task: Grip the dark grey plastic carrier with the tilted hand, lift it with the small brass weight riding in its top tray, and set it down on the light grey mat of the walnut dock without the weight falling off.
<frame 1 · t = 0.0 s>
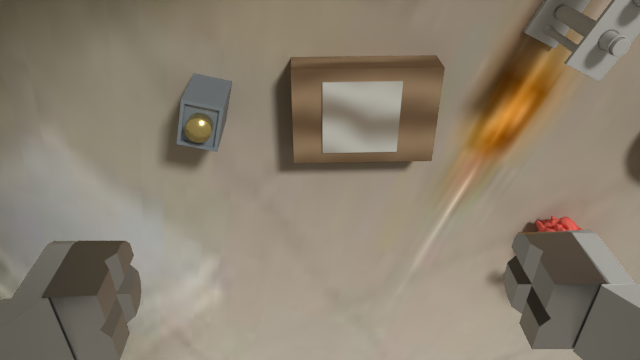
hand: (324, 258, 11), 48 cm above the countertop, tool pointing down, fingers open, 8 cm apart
brass weight: (200, 124, 54), point 7 cm above the countertop, touching carrier
dock: (361, 103, 61), on the countertop
anatomical heart: (551, 235, 74), on the countertop
carrier: (210, 98, 60), on the countertop, touching brass weight
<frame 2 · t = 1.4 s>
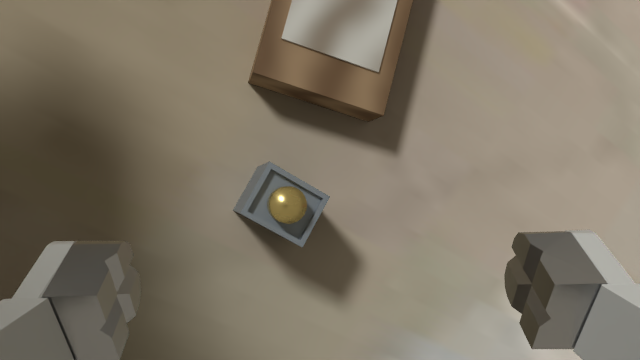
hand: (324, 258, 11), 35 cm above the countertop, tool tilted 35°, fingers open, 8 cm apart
brass weight: (284, 204, 38), point 7 cm above the countertop, touching carrier
dock: (332, 18, 47), on the countertop
carrier: (271, 203, 45), on the countertop, touching brass weight
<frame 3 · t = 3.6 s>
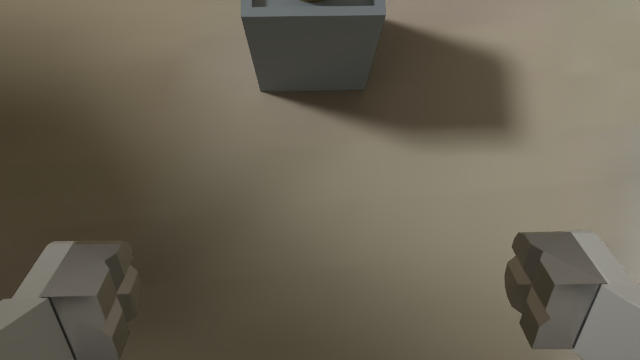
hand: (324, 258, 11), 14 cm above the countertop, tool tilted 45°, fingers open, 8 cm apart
carrier: (311, 51, 27), on the countertop, touching brass weight
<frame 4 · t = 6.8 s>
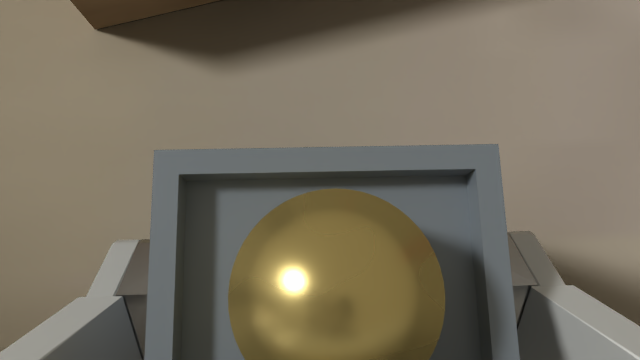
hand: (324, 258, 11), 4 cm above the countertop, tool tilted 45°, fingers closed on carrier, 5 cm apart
brass weight: (331, 292, 8), point 7 cm above the countertop, touching carrier
carrier: (320, 287, 15), on the countertop, touching brass weight, gripper
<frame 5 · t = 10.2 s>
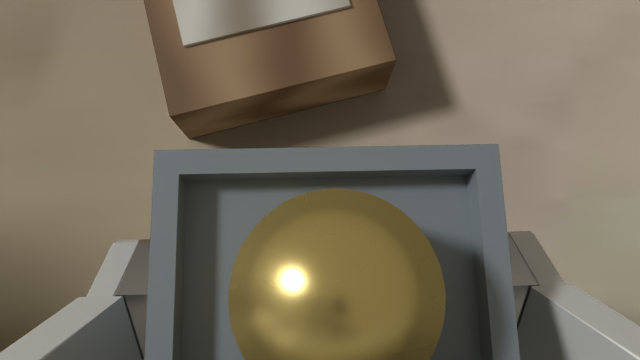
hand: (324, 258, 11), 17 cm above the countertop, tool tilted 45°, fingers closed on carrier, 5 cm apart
brass weight: (331, 292, 8), point 20 cm above the countertop, touching carrier
carrier: (321, 287, 15), point 13 cm above the countertop, touching brass weight, gripper
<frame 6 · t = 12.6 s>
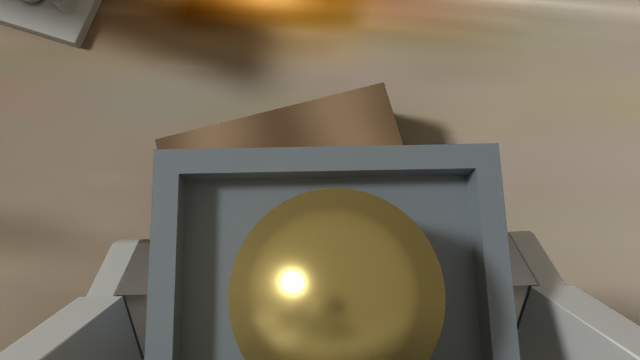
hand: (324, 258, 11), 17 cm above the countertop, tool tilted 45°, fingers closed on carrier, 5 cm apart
brass weight: (331, 292, 8), point 20 cm above the countertop, touching carrier
dock: (314, 275, 27), on the countertop
carrier: (321, 286, 15), point 13 cm above the countertop, touching brass weight, gripper
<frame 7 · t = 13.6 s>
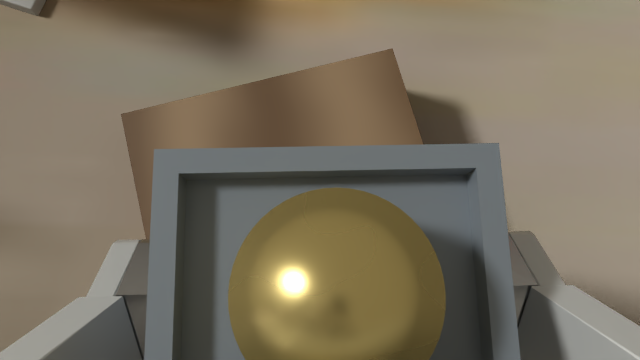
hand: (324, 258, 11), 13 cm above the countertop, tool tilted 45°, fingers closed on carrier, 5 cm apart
brass weight: (331, 292, 8), point 16 cm above the countertop, touching carrier
dock: (310, 275, 24), on the countertop
carrier: (321, 286, 15), point 9 cm above the countertop, touching brass weight, gripper
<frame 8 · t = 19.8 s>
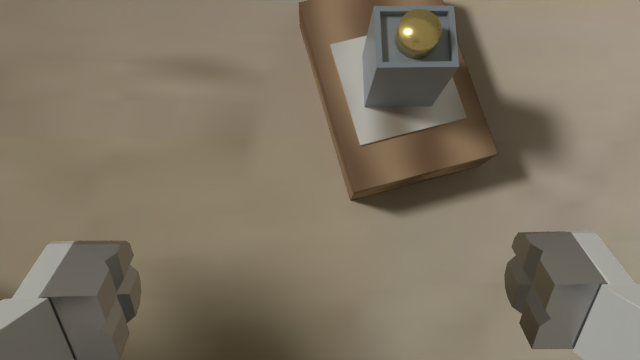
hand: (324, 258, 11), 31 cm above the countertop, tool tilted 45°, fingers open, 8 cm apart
brass weight: (415, 40, 34), point 11 cm above the countertop, touching carrier
dock: (387, 94, 45), on the countertop
carrier: (396, 80, 41), point 4 cm above the countertop, touching brass weight, dock
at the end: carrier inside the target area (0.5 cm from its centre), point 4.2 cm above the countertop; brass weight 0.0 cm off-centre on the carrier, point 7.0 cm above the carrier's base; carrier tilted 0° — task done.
